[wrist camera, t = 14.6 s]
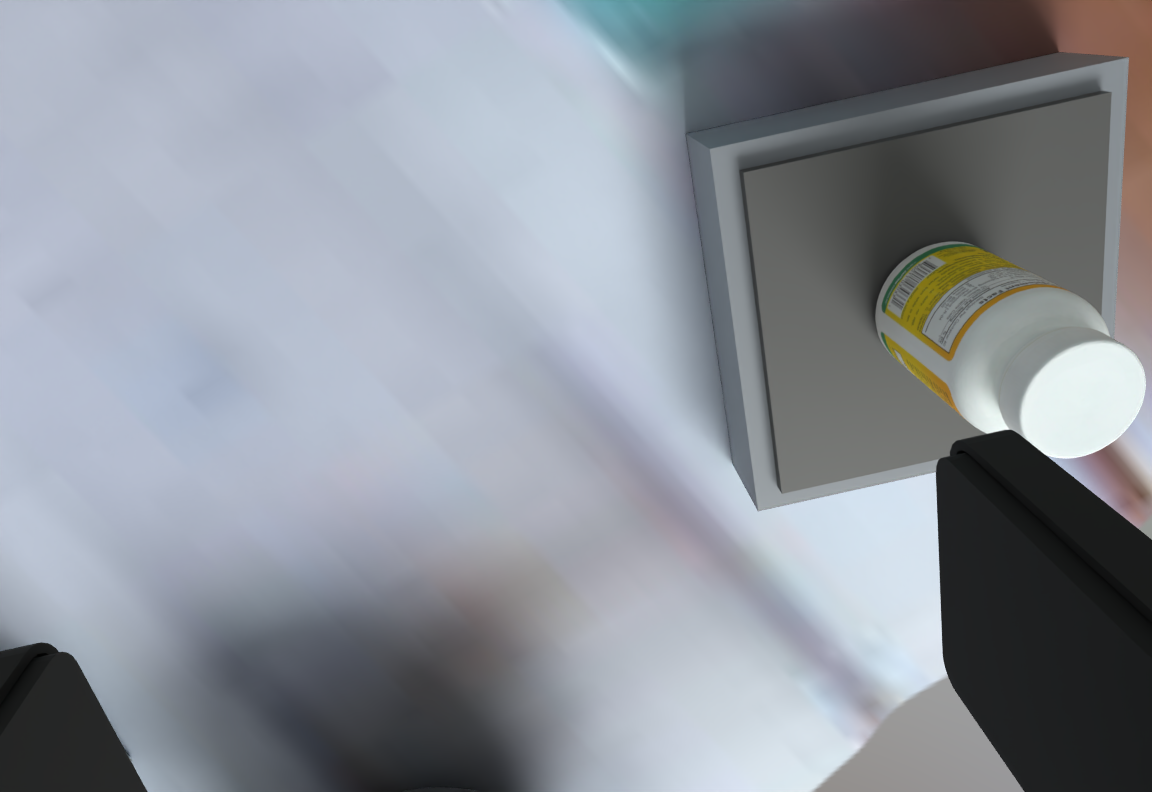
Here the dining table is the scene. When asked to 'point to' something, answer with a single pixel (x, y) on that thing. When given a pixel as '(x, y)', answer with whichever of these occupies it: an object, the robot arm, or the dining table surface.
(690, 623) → the dining table surface
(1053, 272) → the plinth
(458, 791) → the coal bowl
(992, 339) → the supplement bottle
